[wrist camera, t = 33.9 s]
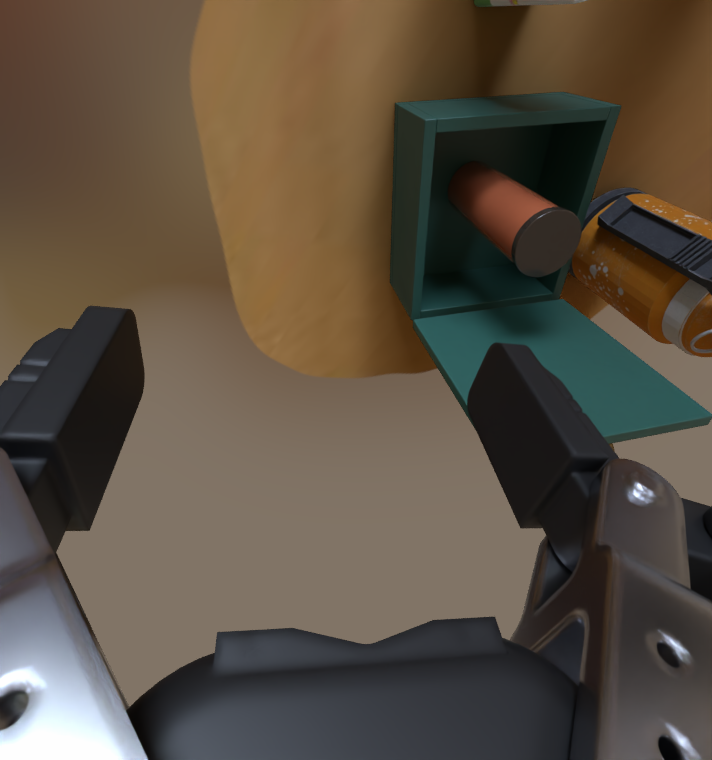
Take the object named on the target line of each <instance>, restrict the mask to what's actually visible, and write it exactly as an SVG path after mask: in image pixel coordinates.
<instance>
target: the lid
mask: <svg viewBox="0 0 712 760" xmlns="http://www.w3.org/2000/svg"><path fill="white" fill-rule="evenodd" d="M413 329H414V330H415V332H416V333H417V335H418V337H419V338H420V340H421V342H422V343H423V345H424V346H425V348H426V350H427V351H428V353H429V355H430V356H431V358H432V360H433V361H434V363H435V364H436V366H437V368H438V369H439V371H440V373H441V374H442V376H443V377H444V379H445V381H446V382H447V384H448V386H449V387H450V389H451V390H452V392H453V394H454V395H455V397H456V399H457V400H458V402H459V404H460V405H461V407H462V408H463V410H464V412H465V413H466V415H467V417H468V418H469V420H470V421H471V423H472V425H473V426H474V424H473V422H472V420H471V418H470V415H469V412H468V407H467V399H468V393H469V390H470V388H471V386H472V383H473V381H474V379H475V377H476V375H477V372H478V370H479V368H480V366H481V364H482V361H483V359H484V357H485V355H486V353H487V351H488V349H489V347H490V346H491V345H492V344H493V343H496V342H498V343H510V344H521V345H526V346H528V347H529V348H530V349H531V351H532V352H533V353H534V355H535V356H536V358H537V359H538V360H539V362H540V363H541V364H542V366H543V367H545V368H546V369H547V370H548V371H550V372H551V373H552V374H553V375H555V376H556V377H557V378H558V379H560V380H561V381H562V382H563V384H564V385H565V386H566V388H567V389H568V390H569V392H570V393H571V394H572V396H573V400H576V401H577V403H578V404H579V405H580V407H581V408H582V409H583V410H582V412H583V413H586V415H587V416H588V417H589V419H590V420H591V421H592V423H593V424H594V425H595V427H596V428H597V429H598V431H599V432H600V433H601V435H602V436H603V437H604V439H605V440H606V441H607V443H608V444H609V445H610V447H611V448H612V449H613V451H614V447H613V444H612V443H615V442H621V441H626V440H631V439H636V438H642V437H647V436H652V435H657V434H662V433H668V432H672V431H678V430H683V429H688V428H693V427H698V426H704V425H708V424H709V422H710V420H711V419H712V414H711V413H710V412H708V411H707V410H706V409H705V408H703V407H702V406H700V405H699V404H698V403H697V402H695V401H694V400H693V399H691V398H690V397H689V396H688V395H686V394H685V393H684V392H683V391H681V390H680V389H679V388H677V387H676V386H675V385H673V384H672V383H671V382H669V381H668V380H667V379H666V378H664V377H663V376H662V375H661V374H659V373H658V372H657V371H655V370H654V369H653V368H651V367H650V366H649V365H648V364H646V363H645V362H644V361H642V360H641V359H640V358H638V357H637V356H636V355H635V354H633V353H632V352H630V350H628V349H627V348H626V347H624V346H623V345H622V344H621V343H619V342H618V341H617V340H615V339H614V338H613V337H611V336H610V335H609V334H607V333H606V332H605V331H604V330H602V329H601V328H600V327H599V326H597V325H596V324H594V323H593V322H592V321H591V320H589V319H588V318H587V317H586V316H584V315H583V314H582V313H580V312H579V311H578V310H577V309H575V308H574V307H573V306H571V305H570V304H569V303H568V302H566V301H565V300H564V299H559V300H552V301H545V302H537V303H530V304H523V305H516V306H509V307H501V308H494V309H487V310H480V311H472V312H465V313H458V314H451V315H444V316H436V317H429V318H422V319H415V320H413ZM474 428H475V427H474ZM475 430H476V429H475Z"/></svg>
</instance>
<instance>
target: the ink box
mask: <svg viewBox="0 0 712 760" xmlns="http://www.w3.org/2000/svg"><path fill="white" fill-rule="evenodd" d="M583 1H587V0H474V4H475V5H476V6H477V7H491V6H517V5H553V4H576V3H580V2H583Z"/></svg>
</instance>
